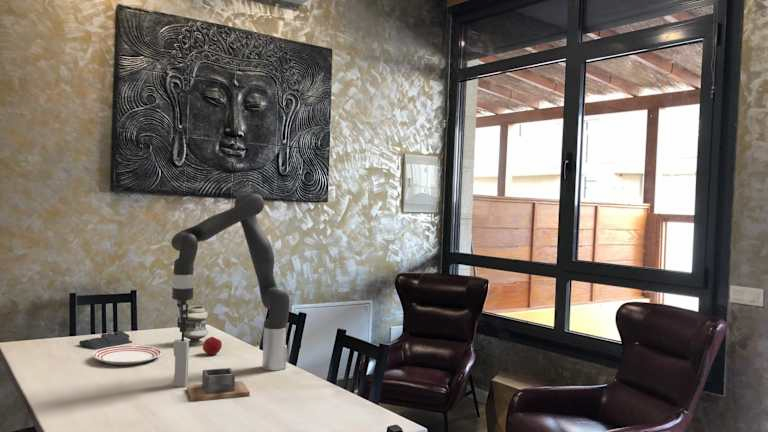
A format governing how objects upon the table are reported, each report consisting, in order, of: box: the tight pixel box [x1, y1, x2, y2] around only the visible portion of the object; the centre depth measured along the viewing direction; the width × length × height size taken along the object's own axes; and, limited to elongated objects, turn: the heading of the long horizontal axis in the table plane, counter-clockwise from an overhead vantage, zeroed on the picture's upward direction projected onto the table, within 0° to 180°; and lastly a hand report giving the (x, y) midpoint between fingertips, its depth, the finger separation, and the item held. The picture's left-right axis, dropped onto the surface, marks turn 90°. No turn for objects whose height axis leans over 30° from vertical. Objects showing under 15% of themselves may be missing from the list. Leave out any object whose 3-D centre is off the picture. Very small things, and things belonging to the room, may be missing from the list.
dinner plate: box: [92, 344, 163, 366], centre depth 259 cm, size 27×27×3 cm
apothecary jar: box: [184, 305, 209, 347], centre depth 290 cm, size 12×12×18 cm
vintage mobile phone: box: [171, 332, 190, 388], centre depth 225 cm, size 4×5×25 cm
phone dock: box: [186, 367, 251, 402], centre depth 219 cm, size 20×14×8 cm
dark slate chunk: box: [79, 330, 133, 351], centre depth 285 cm, size 15×22×5 cm
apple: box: [202, 336, 223, 356], centre depth 272 cm, size 8×8×8 cm
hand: (181, 329), depth 225 cm, fingers open, 8 cm apart
